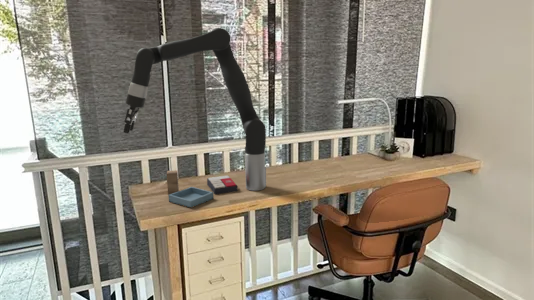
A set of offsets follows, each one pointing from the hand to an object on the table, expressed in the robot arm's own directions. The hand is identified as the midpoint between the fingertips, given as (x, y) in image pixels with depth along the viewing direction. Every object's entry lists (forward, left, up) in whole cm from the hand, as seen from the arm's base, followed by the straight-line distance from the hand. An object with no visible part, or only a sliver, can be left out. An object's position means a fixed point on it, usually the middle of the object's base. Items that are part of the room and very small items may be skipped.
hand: (128, 131), depth 170 cm
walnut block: (-14, +9, -30) cm, 35 cm away
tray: (-12, +23, -30) cm, 40 cm away
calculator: (-32, +23, -31) cm, 50 cm away
